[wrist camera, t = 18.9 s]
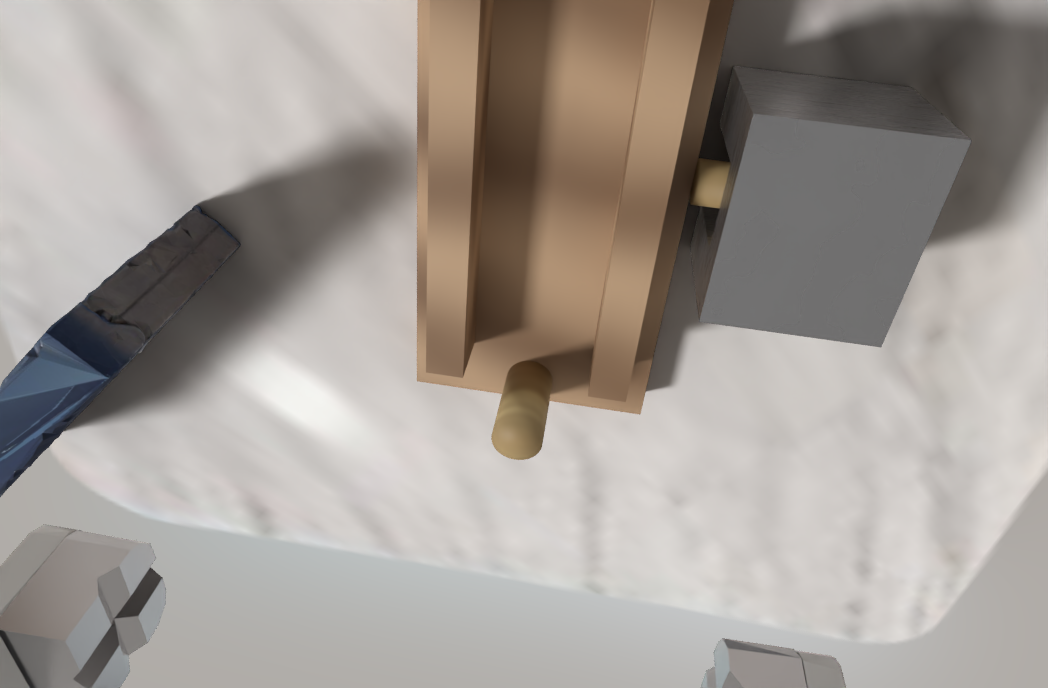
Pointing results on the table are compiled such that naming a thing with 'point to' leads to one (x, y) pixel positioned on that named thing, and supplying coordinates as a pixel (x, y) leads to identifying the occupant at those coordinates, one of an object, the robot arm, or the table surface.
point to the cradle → (556, 194)
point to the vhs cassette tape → (103, 337)
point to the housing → (821, 204)
